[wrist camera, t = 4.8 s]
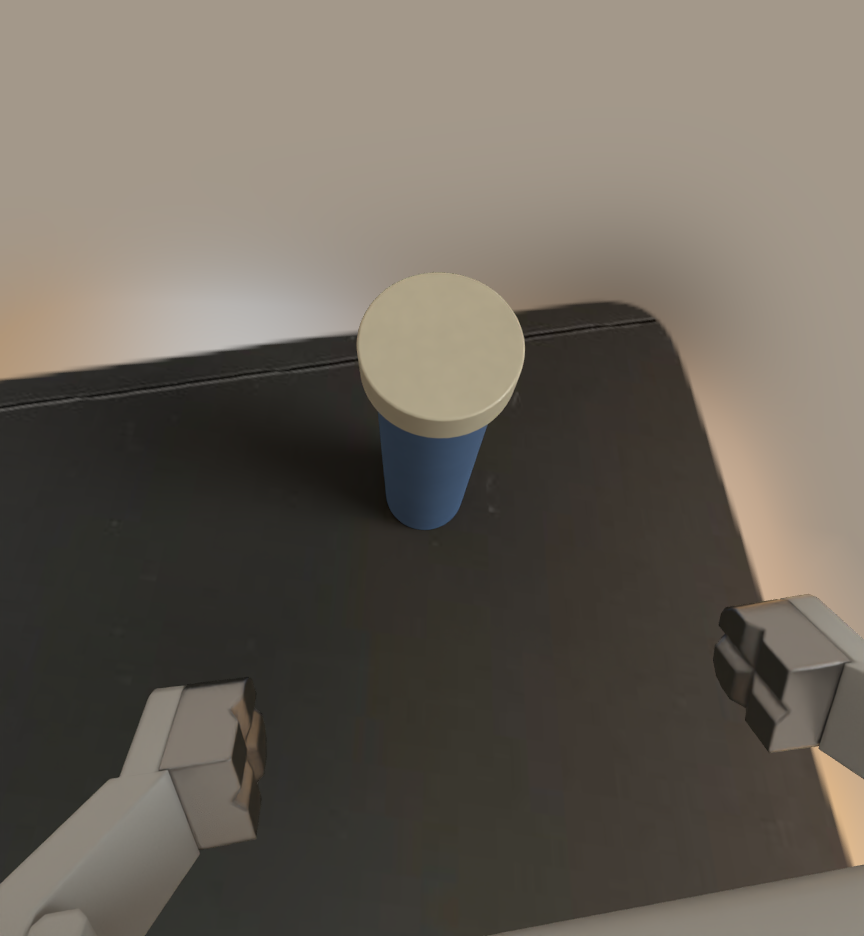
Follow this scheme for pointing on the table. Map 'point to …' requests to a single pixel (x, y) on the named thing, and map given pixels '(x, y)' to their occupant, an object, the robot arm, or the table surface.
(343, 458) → the table surface
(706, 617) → the table surface
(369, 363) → the peg
